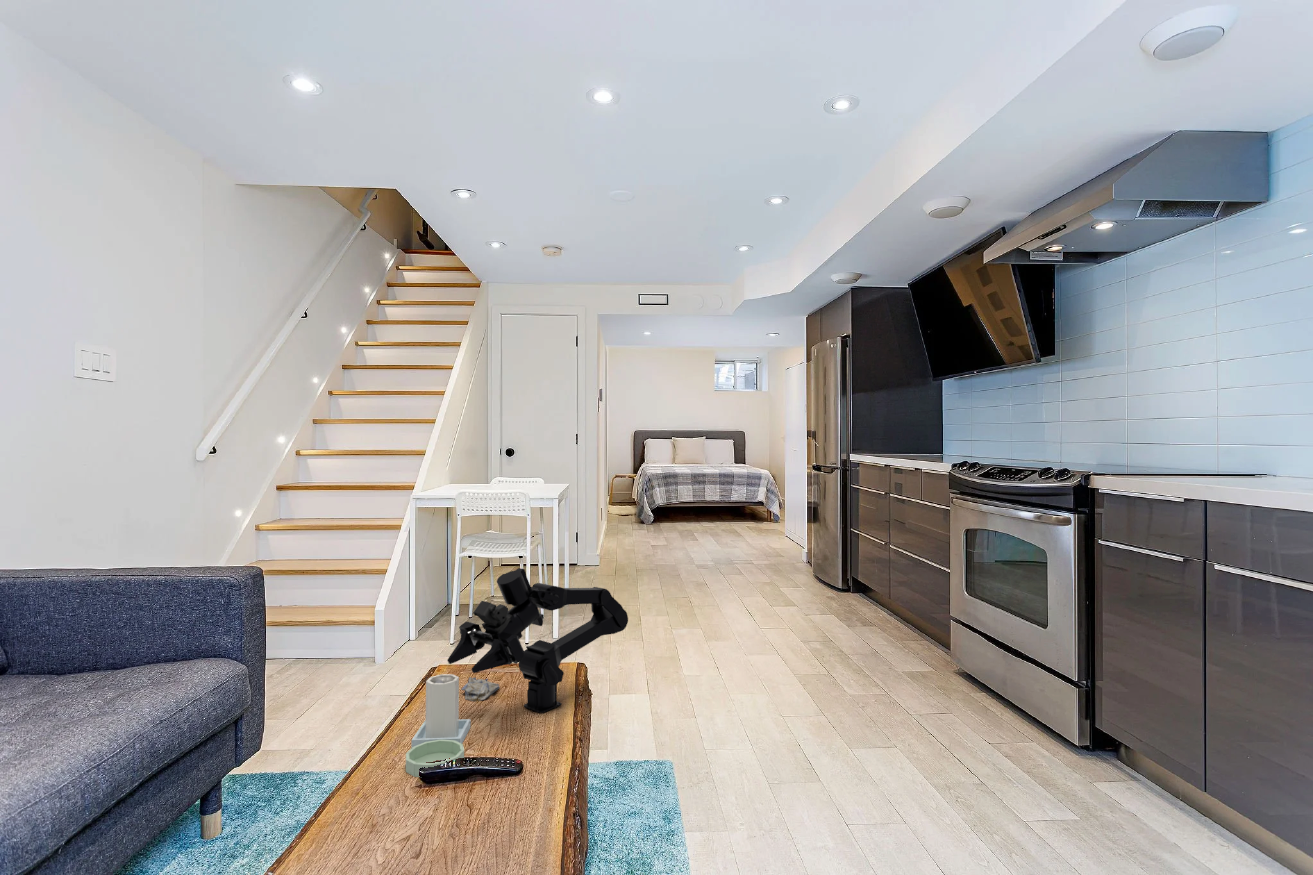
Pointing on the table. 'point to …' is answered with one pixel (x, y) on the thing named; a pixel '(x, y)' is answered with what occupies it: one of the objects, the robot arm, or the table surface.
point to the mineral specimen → (479, 689)
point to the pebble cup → (442, 706)
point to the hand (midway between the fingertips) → (460, 666)
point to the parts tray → (462, 732)
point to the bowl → (432, 754)
